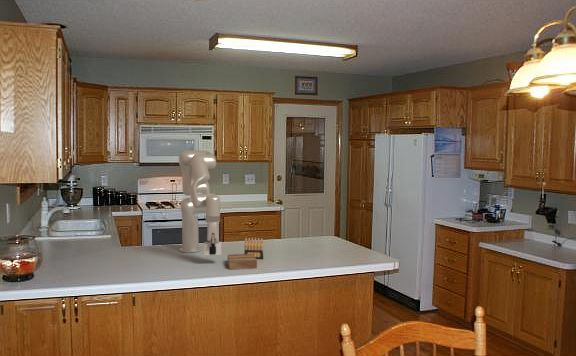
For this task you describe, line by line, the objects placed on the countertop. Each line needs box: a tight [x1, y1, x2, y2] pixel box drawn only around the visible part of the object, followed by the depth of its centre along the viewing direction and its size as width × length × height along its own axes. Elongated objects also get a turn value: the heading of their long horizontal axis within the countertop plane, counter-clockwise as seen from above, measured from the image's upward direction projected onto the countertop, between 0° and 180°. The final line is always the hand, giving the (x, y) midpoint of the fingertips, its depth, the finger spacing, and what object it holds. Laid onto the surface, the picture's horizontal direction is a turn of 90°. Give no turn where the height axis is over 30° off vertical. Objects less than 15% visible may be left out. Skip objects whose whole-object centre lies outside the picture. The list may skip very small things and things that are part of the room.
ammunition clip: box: [243, 237, 264, 260], centre depth 284 cm, size 11×2×12 cm, turn 86°
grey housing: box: [203, 240, 222, 256], centre depth 270 cm, size 5×9×7 cm, turn 101°
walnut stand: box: [227, 253, 258, 270], centre depth 269 cm, size 16×14×4 cm
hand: (212, 252), depth 270 cm, fingers closed on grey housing, 5 cm apart
